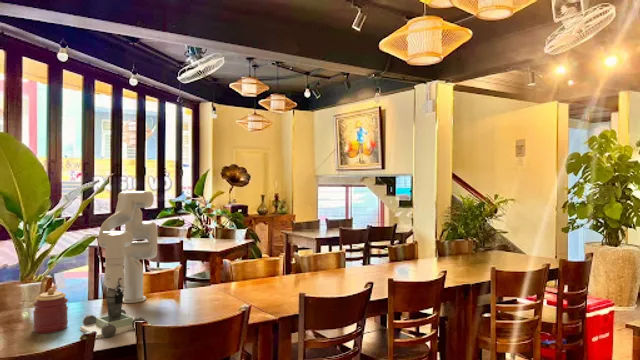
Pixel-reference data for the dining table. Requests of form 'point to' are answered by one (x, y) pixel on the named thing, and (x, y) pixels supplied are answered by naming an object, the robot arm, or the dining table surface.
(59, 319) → the canister
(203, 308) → the dining table surface
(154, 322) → the dining table surface
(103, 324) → the chassis bay
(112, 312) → the beverage cup
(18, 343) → the dining table surface
